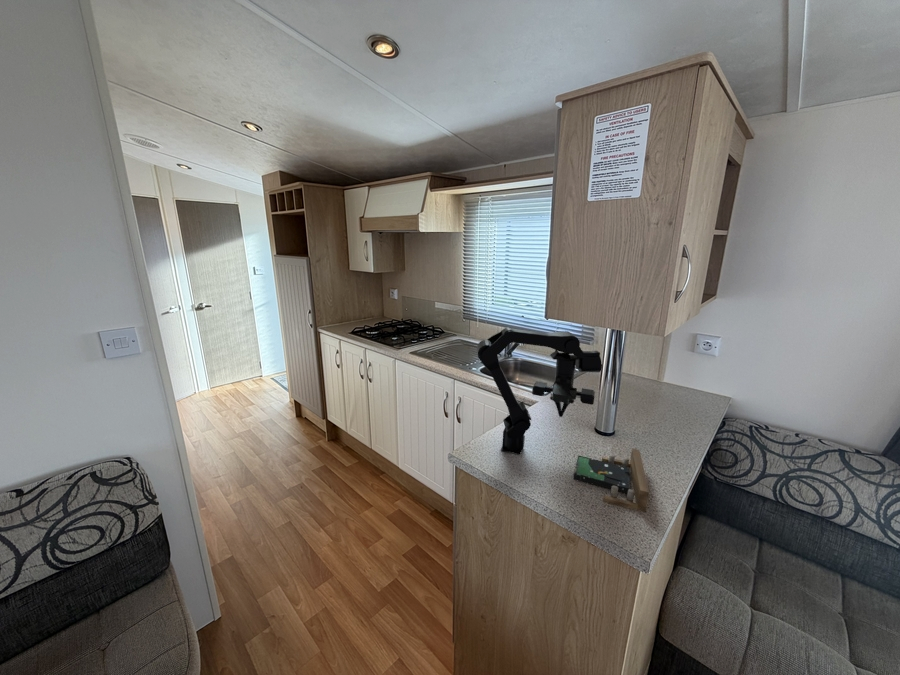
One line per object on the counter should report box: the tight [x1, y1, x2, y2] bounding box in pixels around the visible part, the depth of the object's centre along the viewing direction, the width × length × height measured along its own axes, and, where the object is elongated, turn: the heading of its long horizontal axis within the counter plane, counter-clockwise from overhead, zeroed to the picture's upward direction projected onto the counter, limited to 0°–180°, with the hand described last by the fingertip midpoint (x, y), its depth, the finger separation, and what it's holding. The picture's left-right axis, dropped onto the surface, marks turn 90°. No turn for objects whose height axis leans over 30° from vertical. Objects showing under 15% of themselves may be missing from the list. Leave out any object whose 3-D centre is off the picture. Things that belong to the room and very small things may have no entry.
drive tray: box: [601, 448, 650, 513], centre depth 100 cm, size 10×20×6 cm, turn 159°
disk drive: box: [572, 455, 631, 495], centre depth 104 cm, size 10×3×15 cm
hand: (560, 416), depth 115 cm, fingers closed
